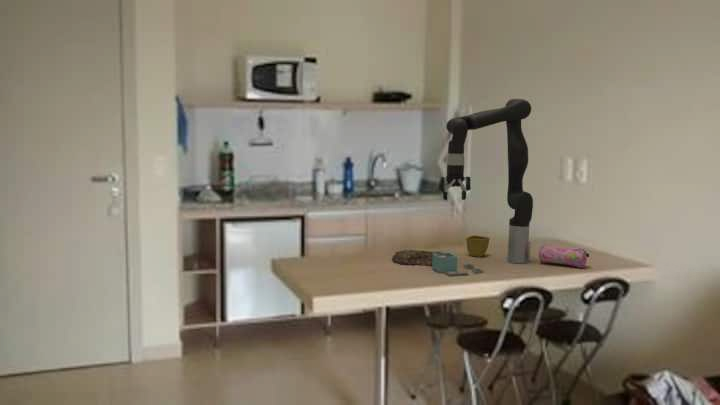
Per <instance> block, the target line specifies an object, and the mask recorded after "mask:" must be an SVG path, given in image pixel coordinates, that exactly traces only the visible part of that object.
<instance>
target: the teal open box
mask: <svg viewBox="0 0 720 405" xmlns="http://www.w3.org/2000/svg"><path fill="white" fill-rule="evenodd" d="M440 256H446V257H440ZM431 270H433V271H434V272H437V274H445V272H450V271H458V255H455V254H453V253H451V252H442V253H433V260H432V268H431Z"/></svg>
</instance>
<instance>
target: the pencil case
mask: <svg viewBox="0 0 720 405" xmlns="http://www.w3.org/2000/svg"><path fill="white" fill-rule="evenodd" d="M587 252H588V249H584V248H560V247H556V246H552V245H549V244H546V243H545V244H542V245H541V246H540V249H539V251H538V255H539V256H538V258H539V262H540V263H543V264H558V265H564V266H570V267H573V268H579V269H583V268H584V269H585V267H586V264H587V259H588V258H590V253H587Z"/></svg>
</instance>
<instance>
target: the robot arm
mask: <svg viewBox="0 0 720 405" xmlns="http://www.w3.org/2000/svg"><path fill="white" fill-rule="evenodd" d="M531 112H532V106H531V104H530V102H529V101H528V100H526V99H523V98H512V99H509V100H508V101H507V102H506V104H505V106H504V107H500V108H494V109H488V110H483V111H482V110H481V111H479V112H474V113H472V114H468V115H464V116H463V115H462V116H457V117H453V118H451V119H449V120H448V121H447V122H446V130H447V132H448V133H449V134H452V137H451V140H449V142H448V144H447V149H448V150H447V153H448V154H447V157H446V158H447V160H446V177H444V176H439V182H438V183H439V185H438V190H439V191H441V192H442V199H443V200H444V201H448V190H450V188H452V187H453V188H454V187H459V188H460V189H461V201H464V200H465V199H467V191H470V190H471V177H470V176H468V175H467V176H465V175H464V174H465V142H466V139H467V137H468V136H467V135H468V131H474V130H478V129H482V128H485V127H489V126H492V125H496V124H498V123H503V122H505V124H506V131H507V132H506V133H507V134H506V138H507V140H506V141H507V168H508V169H507V170H508V171H507V172H508V173H507V174H508V175H507V176H508V180H507V182H508V183H507V184H508V185H507V195H506V196H507V198H506V201H507V205H508V206H509V208H510V209H512V210H514V215H513V217H511V218H509V220H508V221H509V223H508V242H507V245H508V246H507V262H508V263H512V264H528V263H530V258H531V256H530V255H531V242H530V223H531V221H532V217H533V209H534V208H533V207H534V198H533V196H532V194H531V193H530V192H527V191H524V188H523V180H524V176H525V173H526V170H527V168H528V165H529V147H528V143H527V141H526V140H527V139H526V138H525V136H524V133H523V129H522V120H525V119H526V118H528V117H529V116H530V115H531ZM463 182H465V184H464V183H463ZM445 183H446V184H445Z"/></svg>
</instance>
